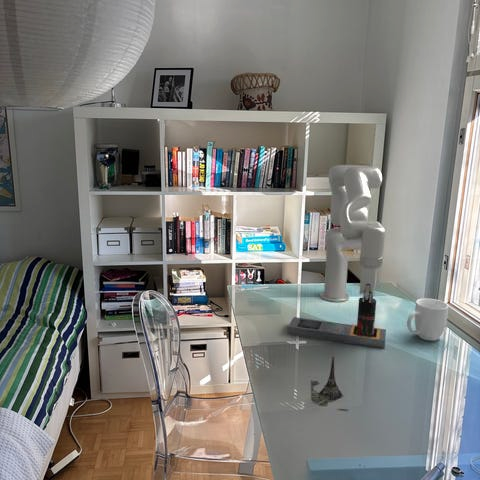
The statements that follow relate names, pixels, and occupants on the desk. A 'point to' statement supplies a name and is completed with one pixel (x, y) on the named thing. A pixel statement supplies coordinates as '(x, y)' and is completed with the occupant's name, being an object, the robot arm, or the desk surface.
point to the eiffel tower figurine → (326, 390)
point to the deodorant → (366, 320)
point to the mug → (429, 318)
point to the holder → (335, 332)
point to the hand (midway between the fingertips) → (366, 307)
